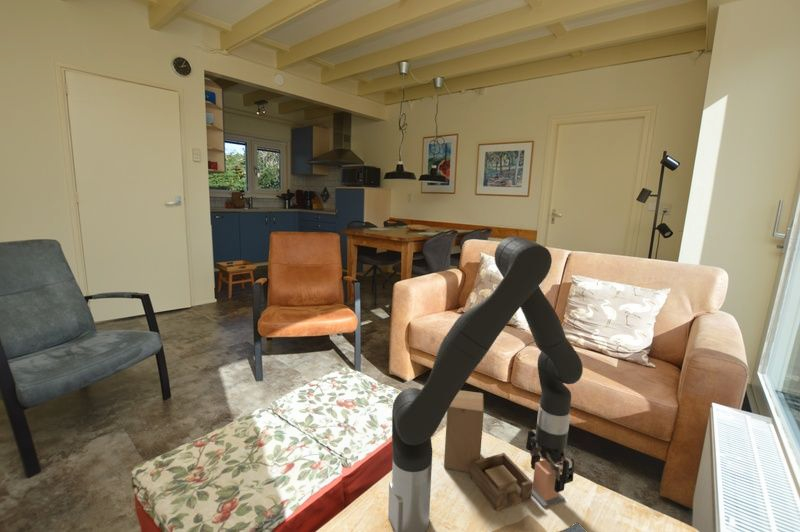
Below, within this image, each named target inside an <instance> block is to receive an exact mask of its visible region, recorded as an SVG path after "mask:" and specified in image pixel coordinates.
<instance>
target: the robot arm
mask: <svg viewBox="0 0 800 532" xmlns="http://www.w3.org/2000/svg"><path fill="white" fill-rule="evenodd" d="M552 262H553V261H552V254H551V252H550V250H549V249H548V248H547V247H545V246H543V245H542V244H540V243H537V242H535V241H531V240H530V239H527V238H524V237H520V236H509V237H506V238H504V239H502V240H501V241H500V242H499V244H498V245H497V247H496V249H495V251H494V263H495V266H496V268H497V270H498V271H499V272H500V274H501V276H502V279H501V280H500V282H499V283H498V284H497V286H496V287H495V289H494V290H493V291H492V292H491V293H490V295H488V296H487V297H486V298H485V299H483V300H482V301H480V302H479V303H477V304H476V305H474V306H472V307H471V308H469V309H468V310H466V311H464V312H463V313H462V314H461V315H460V316H459V317H457V319H456V320H455V322H454V323H453V325H452V326H451V328H450V329H449V330H448V332H447V333H446V335H445V336H444V338H443V340H442V342H441V343H440V345H439V349H438V351H437V354H436V356H435V359H434V362H433V364H432V365H433V366H432V368H431V371H430V375H429V376H428V378H427V380H426V382H425V384H424V385H423V387H422V389H420V388H416V387H409V388H405V389H404V390H402V391H401V392H399V393H398V394H397V396H396V397H395V399H394V401H393V404H392V411H391V412H392V413H391V418H392V419H391V422H392V423H391V424H392V425H391V427H392V428H391V441H392V442H391V444H392V469H391V470H392V471H391V474H392V476H391V477H392V478H391V482H389V483H388V508H387V509H388V510H387V511H388V513H387V515H388V516H387V517H388V519H389V521H390V524H391V526H392V529H393V531H394V532H426V531H427V530H428V527H429V524H430V510H431V508H430V507H431V491H432V490H431V488H432V486H431V485H432V470H433V469H432V468H433V446H432V445H433V444H432V437H433V435H434V434H435V433H436V432H437V430H438V428H439V426H440V425H441V422H442V420H443V419H444V417H445V415H447V410H448V408H449V406H450V405H451V403H452V401H453V400H454V398H455V396H456V395H457V394H458V392H459V391H460V390H461V389H462V388H463V387H464V385H465V384H466V383H467V381H468V379H469V378H470V377H471V375H472V374H473V372H474V371H475V370H476V368H477V366H478V365H479V364H480V363H481V361H482V360H483V359H484V358H485V356H486V355H487V353H488V352H489V351H490V349H491V347H493V344H494V342H495V341H496V340H497V338H498V337H499V336H500V334H501V333H502V331H504V330H505V327H506V326H508V323H510V321H511V319H512V318H513V317H514V315H515V314H516V313H517V311H519V309H521V312H522V314H523V315H524V318H525V320H526V323H527V325H528V328H529V331H530V333H531V335H532V339H533V341H534V343H535V345H536V348H537V349H538V350H539V351H540V353H539V355H538V358H537V373H538V378H539V385H540V389H541V392H540V394H541V395H540V401H539V408H538V412H537V421H536V428H535V429H531V430H528V433H527V439H526V445H525V448H526V450H527V451H529V452H530V454H529V455H530V456H531V457H530V465H531V466H530V468H531V469H532V470H533V471H534V470H535V463H536V462H539V461H541V457H542V458H543V459H544V460H547V461H548V462H549V463H550V466H551V469H552V470H553V471H554V473H555V476H556V479H555V488H554V490H555V491H556V492H557V493H558V492H559V493H560V492H563V491H564V490H565V488H566V487H565V486H566V484H568V483H572V482H573V481H574V474H575V473H574V471H575V460H574V458H568V457H567V456H566V455H565V454H566V453H565V448H566V446H567V444H568V436H569V428H570V422H571V421H570V418H571V417H570V412H571V411H570V410H571V405H572V404H571V402H572V392H571V391H570V389H569V388H568V387H567V386H566V385H573V384H575V383H578V382H579V381H580V380H581V377H582V375H583V372H584V371H583V369H584V367H583V363H582V360H581V357H580V355H579V353H577V350H576V349H575V348H574V347H573V345H572V344H571V342H570V341H569V339H568V338H567V337H566V333H565V331H564V327H563V325H562V322H561V320H560V318H559V315H558V314H557V312H556V310H555V309H554V307H553V305H552V304H551V302H550V300H549V299H548V298H547V296H546V294H544V292H543V290H542V289H541V287H540V286H541V284H542V283H543V282H544V281H545V279H546V278H547V276H548V274H549V272H550V269H551V268H552ZM565 384H566V385H565ZM557 463H559V464H557ZM556 464H557V465H556ZM555 465H556V466H555ZM559 470H560V471H561V474H559Z"/></svg>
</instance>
